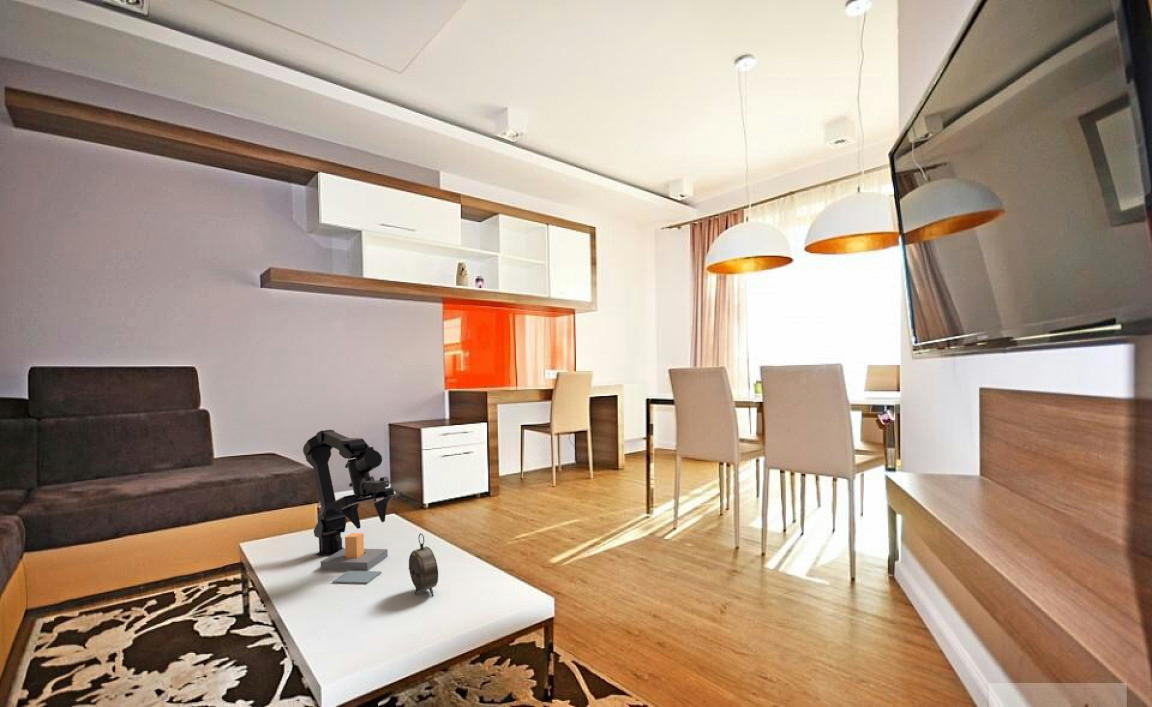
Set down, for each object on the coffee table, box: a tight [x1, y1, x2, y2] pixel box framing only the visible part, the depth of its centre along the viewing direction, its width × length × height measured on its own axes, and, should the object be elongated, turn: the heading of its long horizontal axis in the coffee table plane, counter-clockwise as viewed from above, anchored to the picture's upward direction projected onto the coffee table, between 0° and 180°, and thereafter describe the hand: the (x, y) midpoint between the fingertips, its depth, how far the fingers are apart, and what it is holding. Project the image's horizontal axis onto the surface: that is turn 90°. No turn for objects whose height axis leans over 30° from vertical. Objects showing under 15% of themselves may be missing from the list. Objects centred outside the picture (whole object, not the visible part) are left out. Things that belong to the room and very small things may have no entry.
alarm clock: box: [408, 533, 439, 597], centre depth 144 cm, size 11×5×16 cm, turn 38°
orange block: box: [344, 532, 365, 558], centre depth 169 cm, size 4×4×9 cm
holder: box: [320, 547, 389, 571], centre depth 169 cm, size 16×12×2 cm
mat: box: [332, 570, 382, 585], centre depth 156 cm, size 11×8×1 cm
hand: (371, 525), depth 163 cm, fingers open, 9 cm apart
